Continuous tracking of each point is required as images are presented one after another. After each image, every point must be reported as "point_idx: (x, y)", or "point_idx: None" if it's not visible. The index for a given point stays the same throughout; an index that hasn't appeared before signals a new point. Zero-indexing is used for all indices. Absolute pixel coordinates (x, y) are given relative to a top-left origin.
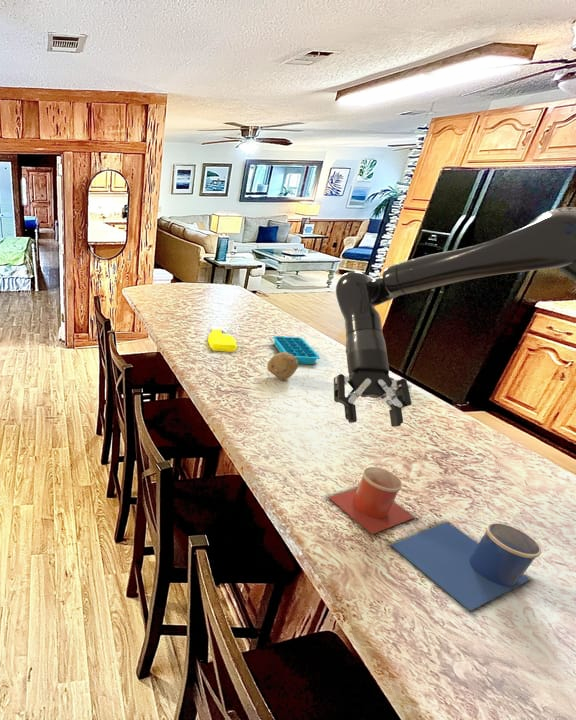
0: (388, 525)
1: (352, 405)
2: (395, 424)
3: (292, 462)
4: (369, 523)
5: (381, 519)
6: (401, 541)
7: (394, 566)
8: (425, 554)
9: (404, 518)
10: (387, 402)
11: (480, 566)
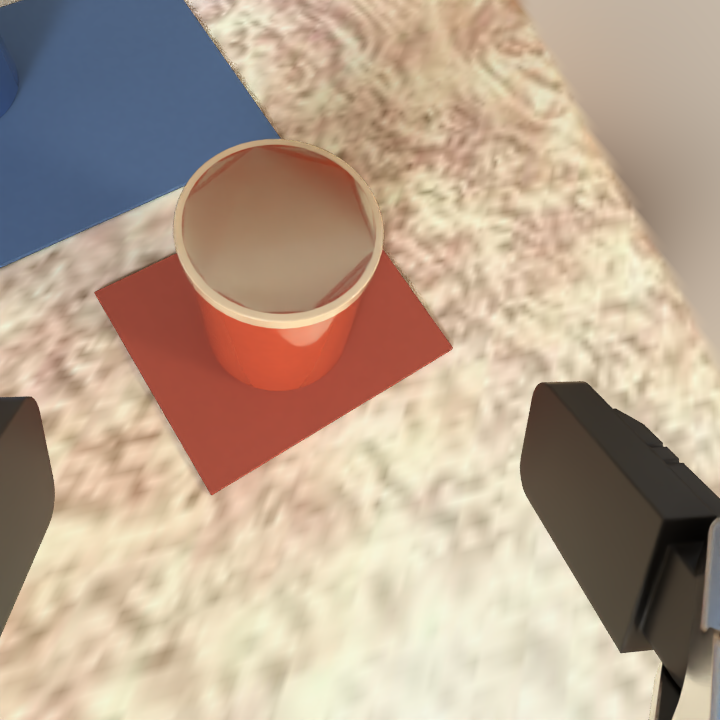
0: None
1: (694, 500)
2: (36, 437)
3: (590, 604)
4: None
5: None
6: None
7: (308, 68)
8: (169, 116)
9: (147, 278)
10: None
11: (6, 47)
